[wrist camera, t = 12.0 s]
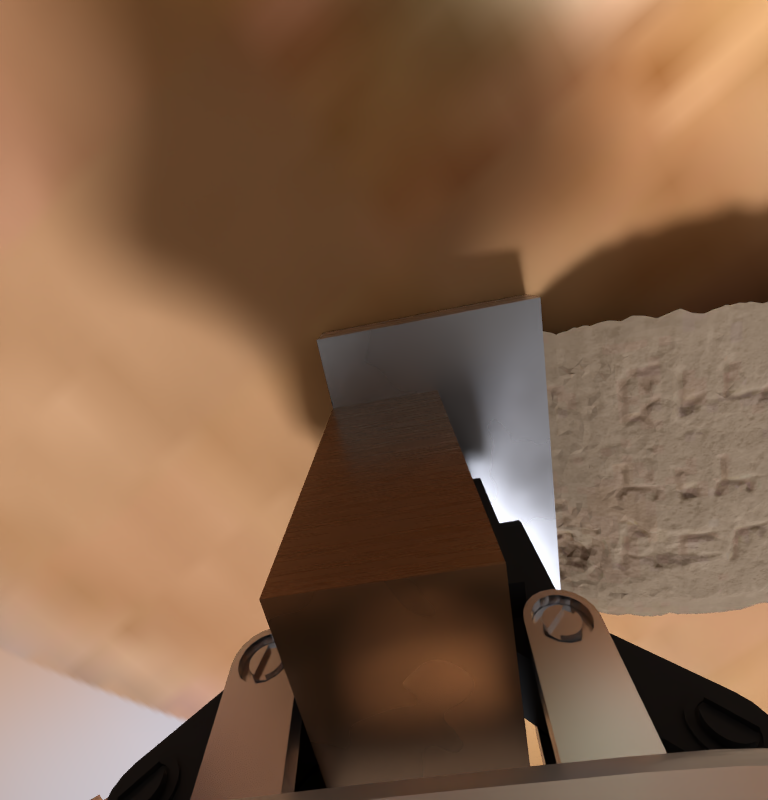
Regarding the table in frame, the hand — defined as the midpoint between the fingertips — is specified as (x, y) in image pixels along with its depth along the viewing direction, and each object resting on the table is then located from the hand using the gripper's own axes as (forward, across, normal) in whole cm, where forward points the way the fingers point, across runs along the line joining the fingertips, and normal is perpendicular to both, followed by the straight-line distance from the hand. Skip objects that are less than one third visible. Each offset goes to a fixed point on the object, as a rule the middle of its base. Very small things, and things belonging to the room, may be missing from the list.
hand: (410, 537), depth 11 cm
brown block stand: (+2, -2, 0) cm, 3 cm away
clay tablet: (+3, -10, 0) cm, 10 cm away
